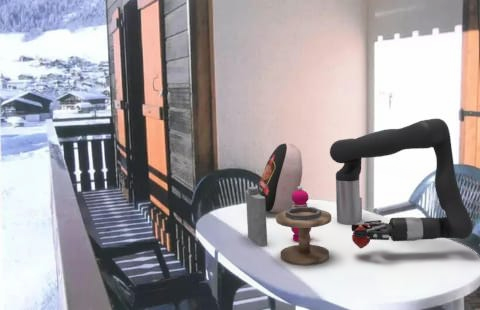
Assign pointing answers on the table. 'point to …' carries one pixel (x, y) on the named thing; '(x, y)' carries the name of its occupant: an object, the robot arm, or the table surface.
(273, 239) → the table surface
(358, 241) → the onion
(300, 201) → the pepper mill
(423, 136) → the robot arm
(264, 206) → the hip flask
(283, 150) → the packaged food
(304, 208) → the ring stand
